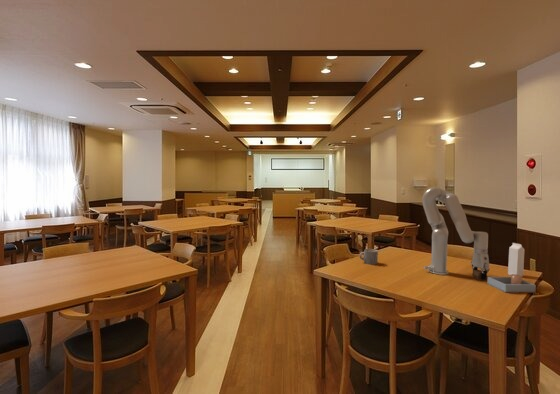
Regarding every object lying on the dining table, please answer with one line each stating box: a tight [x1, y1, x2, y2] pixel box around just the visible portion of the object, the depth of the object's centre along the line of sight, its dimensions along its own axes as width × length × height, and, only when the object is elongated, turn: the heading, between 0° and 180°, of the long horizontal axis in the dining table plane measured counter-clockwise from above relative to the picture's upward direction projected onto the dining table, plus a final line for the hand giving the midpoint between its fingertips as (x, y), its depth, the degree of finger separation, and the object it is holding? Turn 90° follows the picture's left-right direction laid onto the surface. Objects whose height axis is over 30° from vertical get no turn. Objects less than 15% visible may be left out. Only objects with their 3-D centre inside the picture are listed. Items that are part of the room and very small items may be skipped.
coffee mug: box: [359, 248, 379, 266], centre depth 233 cm, size 13×10×10 cm
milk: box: [507, 242, 525, 277], centre depth 205 cm, size 6×6×22 cm
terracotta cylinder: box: [510, 274, 523, 284], centre depth 180 cm, size 5×5×7 cm
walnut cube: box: [472, 269, 487, 281], centre depth 197 cm, size 5×5×5 cm
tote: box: [486, 276, 537, 294], centre depth 180 cm, size 18×15×4 cm
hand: (479, 277), depth 197 cm, fingers open, 7 cm apart
